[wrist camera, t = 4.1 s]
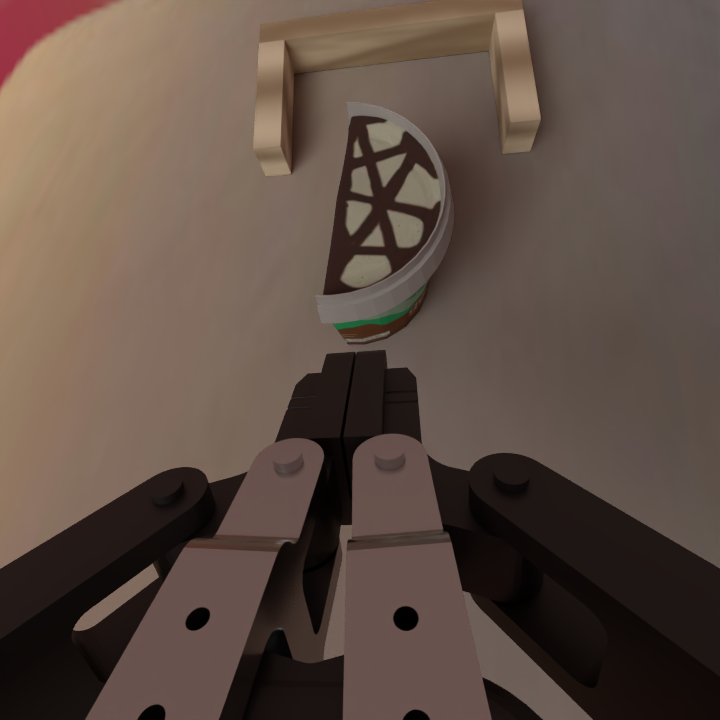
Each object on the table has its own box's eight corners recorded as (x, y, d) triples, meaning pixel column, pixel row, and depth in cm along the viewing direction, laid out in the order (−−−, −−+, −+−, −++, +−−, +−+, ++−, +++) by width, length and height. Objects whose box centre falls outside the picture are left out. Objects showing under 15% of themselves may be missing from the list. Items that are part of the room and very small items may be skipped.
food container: (437, 374, 29) (448, 317, 20) (344, 365, 30) (312, 307, 21) (450, 209, 33) (465, 93, 23) (366, 206, 34) (347, 93, 24)
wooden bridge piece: (530, 151, 33) (541, 119, 30) (266, 176, 35) (253, 148, 33) (511, 28, 37) (519, -11, 34) (271, 58, 39) (260, 23, 36)
